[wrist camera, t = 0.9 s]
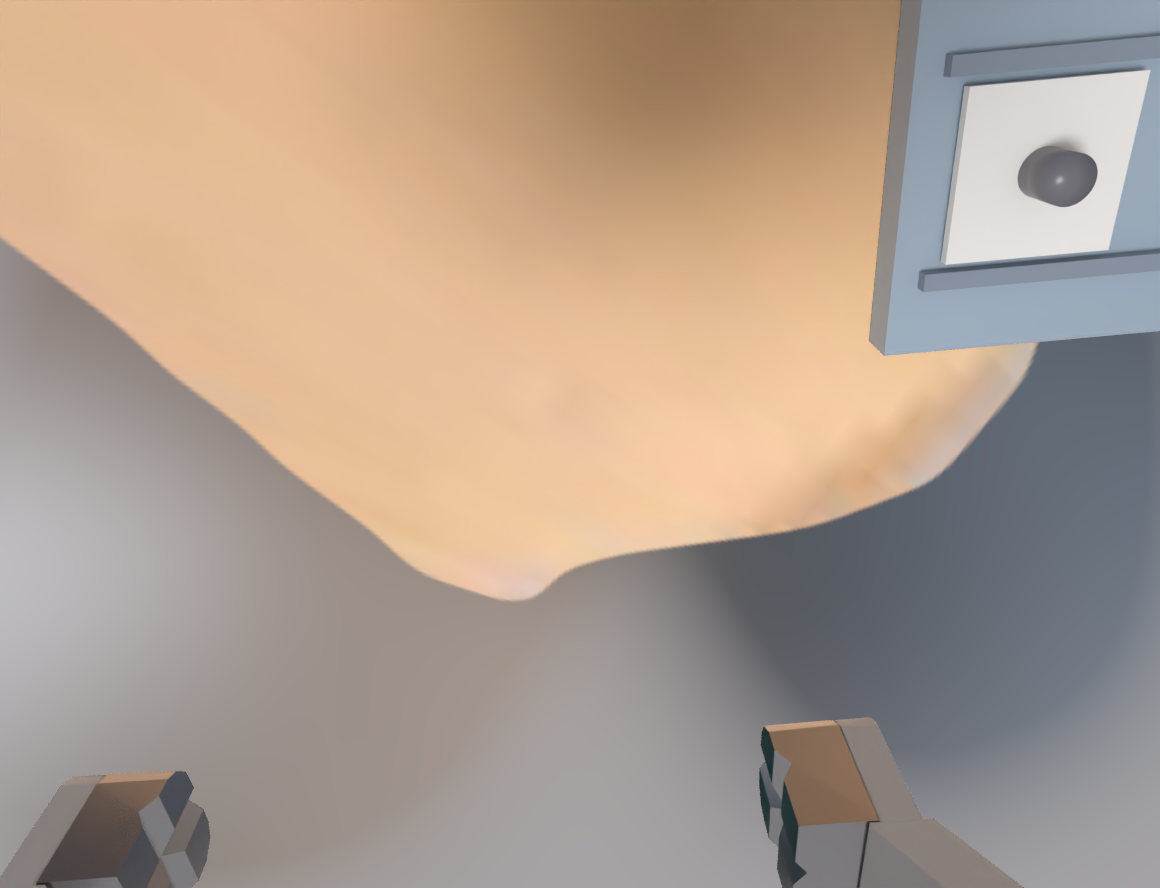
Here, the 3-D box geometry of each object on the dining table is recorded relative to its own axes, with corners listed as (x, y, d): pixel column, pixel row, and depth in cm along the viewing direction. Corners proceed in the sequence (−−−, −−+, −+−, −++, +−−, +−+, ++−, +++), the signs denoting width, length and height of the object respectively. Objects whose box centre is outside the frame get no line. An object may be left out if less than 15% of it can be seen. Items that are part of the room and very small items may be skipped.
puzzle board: (904, -33, 39) (933, -38, 37) (1342, -74, 39) (1405, -82, 36) (869, 341, 49) (889, 360, 46) (1222, 309, 49) (1265, 326, 46)
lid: (964, 85, 40) (995, 89, 37) (1142, 69, 39) (1186, 72, 37) (940, 261, 44) (966, 277, 41) (1101, 247, 44) (1138, 261, 41)
